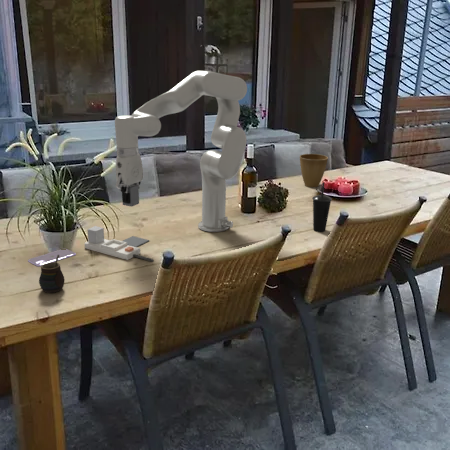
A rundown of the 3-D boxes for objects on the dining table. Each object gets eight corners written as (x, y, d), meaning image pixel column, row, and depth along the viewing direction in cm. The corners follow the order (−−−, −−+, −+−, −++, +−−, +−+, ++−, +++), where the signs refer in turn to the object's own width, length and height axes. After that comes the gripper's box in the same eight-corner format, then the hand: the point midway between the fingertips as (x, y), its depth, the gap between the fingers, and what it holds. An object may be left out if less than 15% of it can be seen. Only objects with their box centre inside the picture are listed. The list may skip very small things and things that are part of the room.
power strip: (159, 258, 180) (159, 239, 177) (146, 265, 174) (146, 246, 172) (98, 242, 193) (97, 224, 191) (84, 248, 187) (83, 230, 185)
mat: (149, 241, 195) (149, 240, 195) (135, 247, 189) (135, 246, 189) (132, 236, 199) (132, 236, 199) (118, 243, 193) (118, 242, 192)
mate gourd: (34, 293, 153) (31, 262, 150) (48, 283, 160) (45, 253, 157) (57, 296, 151) (54, 264, 148) (69, 285, 158) (67, 255, 155)
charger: (139, 203, 189) (138, 184, 186) (131, 206, 185) (130, 187, 183) (130, 201, 191) (128, 182, 188) (122, 204, 187) (121, 185, 185)
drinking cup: (330, 228, 214) (334, 181, 207) (327, 234, 207) (331, 186, 200) (311, 226, 216) (315, 179, 209) (308, 231, 209) (312, 184, 202)
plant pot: (294, 182, 285) (296, 153, 280) (320, 182, 287) (323, 153, 282) (301, 189, 271) (303, 159, 266) (328, 189, 273) (331, 159, 268)
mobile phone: (77, 252, 181) (38, 265, 171) (77, 255, 182) (38, 267, 171) (65, 247, 186) (26, 259, 175) (65, 249, 186) (26, 261, 176)
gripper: (120, 157, 173) (123, 209, 179) (150, 148, 186) (153, 196, 193) (103, 154, 176) (107, 205, 182) (134, 146, 190) (137, 194, 196)
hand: (130, 200), depth 187 cm, fingers closed on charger, 4 cm apart
